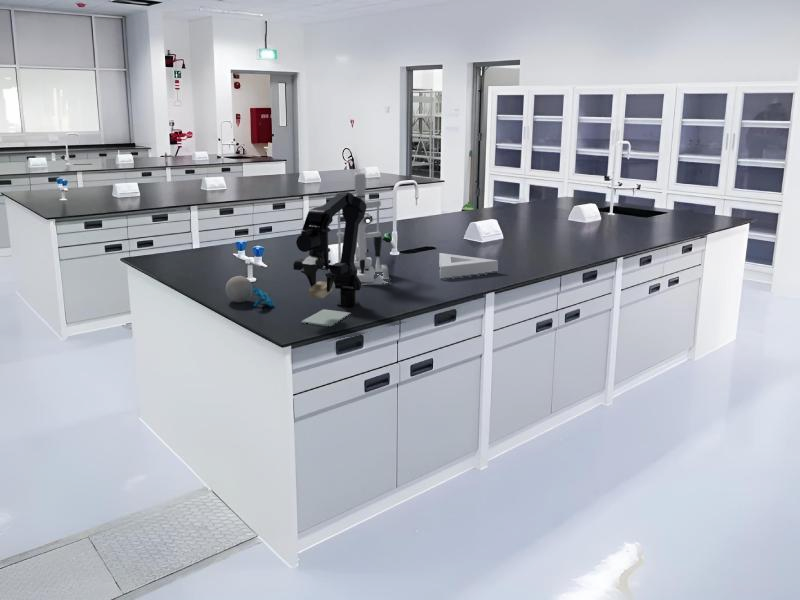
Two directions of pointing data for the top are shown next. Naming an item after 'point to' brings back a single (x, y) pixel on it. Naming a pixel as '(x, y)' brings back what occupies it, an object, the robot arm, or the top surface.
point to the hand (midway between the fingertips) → (321, 290)
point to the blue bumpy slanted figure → (262, 297)
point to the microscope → (361, 261)
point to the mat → (326, 317)
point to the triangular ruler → (464, 265)
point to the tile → (319, 290)
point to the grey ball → (239, 289)
